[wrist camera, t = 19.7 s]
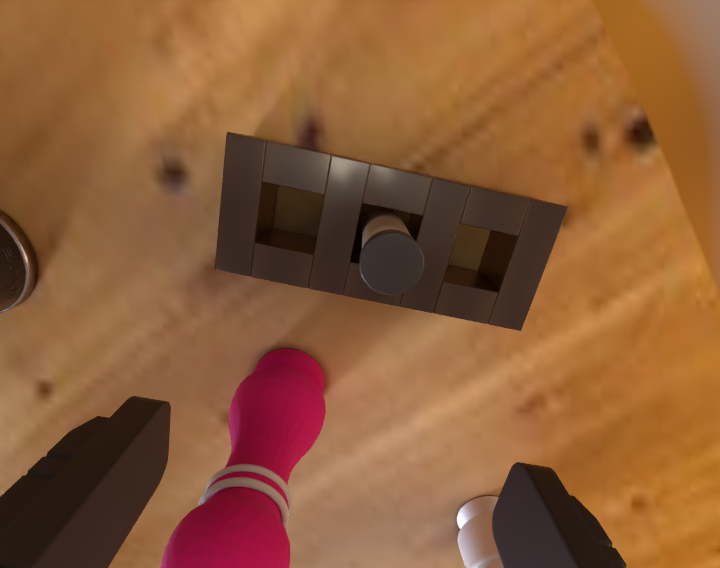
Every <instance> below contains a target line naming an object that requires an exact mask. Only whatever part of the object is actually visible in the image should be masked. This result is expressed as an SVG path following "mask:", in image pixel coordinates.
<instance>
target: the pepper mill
mask: <svg viewBox="0 0 720 568" xmlns="http://www.w3.org/2000/svg"><path fill="white" fill-rule="evenodd" d="M323 389H324V375H323V372H322V369H321V367H320V366H319V364H318V363H317V362H316V361H315V360H314V359H313V358H312V357H311V356H309V355H308V354H306V353H304V352H301V351H298V350H295V349H279V350H275V351H272V352H270V353H268V354H267V355H265V356H264V357H263V358H262V359H261V360H260V361H259V362H258V364H257V366H256V368H255V369H254V371H253V373H252V374H251V375H249V376H248V377H246V378H245V379H244V380H243V382H242V383H241V384H240V385H239V387H238V388H237V390H236V393H235V395H234V397H233V400H232V403H231V407H230V413H229V429H230V436H231V445H232V449H231V455H230V457H229V460H228V463H227V465H226V466H225V468H224V469H222V470H220V471H219V472H217V473H216V474H215V475H214V476H213V477H212V478H211V479H210V481H209V482H208V484H207V486H206V489H205V492H204V493H203V495H202V496H201V499H200V501H199V505H198V507H196V508H195V509H193V510H192V511H190V512H189V513H188V514H187V515H186V516H185V517H184V518H183V520H182V521H181V522H180V523H179V524H178V526H177V527H176V528H175V530H174V532H173V534H172V535H171V537H170V539H169V541H168V544H167V546H166V548H165V551H164V554H163V558H162V561H161V567H160V568H289V565H290V543H289V539H288V536H287V533H286V528H287V526H288V522H289V513H290V511H291V507H292V496H291V492H290V490H289V487H288V486H287V484H288V479H289V476H290V473H291V471H292V469H293V468H294V466H295V465H296V463H297V462H298V461H299V460H300V459H301V458H302V457H303V456H304V455H305V454H306V453H307V452H308V450H309V449H310V448H311V447H312V445H313V444H314V442H315V440H316V439H317V437H318V436H319V434H320V431H321V429H322V426H323V422H324V418H325V413H326V411H325V401H324V397H323Z"/></svg>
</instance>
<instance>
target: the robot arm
mask: <svg viewBox="0 0 720 568" xmlns="http://www.w3.org/2000/svg"><path fill="white" fill-rule="evenodd" d="M36 276H37V268H36V261H35V257H34V254H33V251H32V249H31V246H30V244H29V242H28V240H27V239H26V237H25V236H24V234H23V233H22V232H21V230H20V229H19V228H18V227H17V226H16V224H15V223H14V222H13V221H12V220H11V219H9V218H8V217H7V216H6V215H5V214H3V213H2V212H1V211H0V313H2V312H5V311H7V310H9V309H12V308H14V307H16V306H18V305H20V304H21V303H22V302H24V301H25V300H26V299H27V298H28V297H29V295H30V294H31V292H32V290H33V288H34V286H35V282H36ZM170 413H171V407H170V403H169V402H166V401H160V400H154V399H148V398H143V397H137V396H132V397H130V398H129V399H128V400H126V401H125V402H124V404H123V405H122V406H121V407H120V408H119V409H118V410H117V411H116V412H115V413H114V414H113V415H112V416H111V417H110V418H106V417H100V416H97V417H95V418H93V419H92V420H90V421H88V422H86V423H84V424H83V425H81V426H79V427H77V428H75V429H73V430H72V431H70V432H69V433H68V434H67V435H65V436H64V437H63V438H62V439H61V440H60V441H59V442H58V443H57V444H56V445H55V446H54V447H53V448H52V449H51V450H50V451H49V452H48V453H47V456H46V457H42V458H41V459H40V460H39V461H38V462H37V463H36V464H35V465H34V466H33V467H32V468H31V469H29V470H28V473H27V475H26V476H22V477H21V478H20V479H19V480H18V481H17V482H16V483H15V484H14V485H13V486H11V487H10V488H9V489H8V490H7V491H6V492H5V493H4V494H3V495H2V496H1V497H0V568H108V566H109V565H110V563H111V562H112V560H113V558H114V557H115V555H116V553H117V552H118V550H119V549H120V547H121V545H122V544H123V542H124V540H125V539H126V537H127V536H128V534H129V532H130V531H131V529H132V527H133V526H134V524H135V523H136V521H137V519H138V518H139V516H140V514H141V513H142V511H143V510H144V508H145V506H146V505H147V503H148V501H149V500H150V498H151V497H152V495H153V493H154V492H155V490H156V488H157V487H158V485H159V483H160V481H161V479H162V476H163V474H164V471H165V468H166V465H167V460H168V452H169V433H170ZM492 531H493V537H494V540H495V544H496V546H497V549H498V552H499V555H500V558H501V561H502V564H503V567H504V568H626V563H625V562H624V560H623V559H622V557H621V556H620V554H619V553H618V551H617V550H616V548H613V547H612V542H611V540H610V539H609V537H608V536H607V534H606V533H605V531H604V530H603V528H602V527H601V525H600V523H599V522H598V520H597V519H596V518H595V517H594V516H593V515H592V514H591V513H590V512H589V511H588V510H587V509H586V508H585V507H584V506H583V505H582V504H581V503H580V502H579V501H578V500H577V499H576V498H575V497H574V496H571V495H569V494H568V492H567V491H566V489H565V487H564V486H563V484H562V482H561V481H560V479H559V478H558V476H557V474H556V473H555V472H554V471H553V470H552V469H551V468H549V467H543V466H537V465H531V464H525V463H520V462H517V463H515V464H514V465H513V466H512V468H511V470H510V472H509V474H508V477H507V479H506V482H505V484H504V486H503V489H502V491H501V493H500V496H499V498H498V500H497V503H496V505H495V508H494V510H493V516H492Z"/></svg>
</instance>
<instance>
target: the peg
mask: <svg viewBox="0 0 720 568" xmlns="http://www.w3.org/2000/svg"><path fill="white" fill-rule="evenodd" d="M359 267H360V273H361V276H362V278H363V280H364V281H365V283H366V284H367V285H368V286H369V287H370V288H371V289H373V290H375V291H376V292H379V293H381V294H386V295H397V294H401V293H404V292H406V291H408V290H409V289H411V288H412V287H413V286H415V284H416V283H417V282H418V281H419V279H420V278H421V276H422V273H423V269H424V257H423V253H422V251H421V249H420V247H419V245H418V243H417V242H416V241H415V240H414V238H413V237H411V235H410V233H409V232H408V230H407V228H406V226H405V225H404V223H403V221H402V219H401V218H400V216H399V214H398V213H397V212H396V211H395V210H393V209H389V208H384V207H375V208H373V209H372V210H370V211H369V212H368V213H367V214H366V216H365V218H364V221H363V232H362V250H361V253H360V260H359Z"/></svg>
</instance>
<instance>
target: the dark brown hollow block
mask: <svg viewBox="0 0 720 568" xmlns="http://www.w3.org/2000/svg"><path fill="white" fill-rule="evenodd" d="M278 185H281V186H286V187H290V188H295V189H300V190H304V191H309V192H314V193H318V194H323V195H324V200H323V206H322V212H321V217H320V223H319V229H318V234H317V238H315V237H311V236H306V235H301V234H296V233H291V232H286V231H282V230H277V229H272V226H273V219H274V212H275V204H276V197H277V189H278ZM362 202H363V203H365V204H370V205H375V206H379V207H384V208H389V209H393V210H398V211H403V212H407V213H412V214H411V218H410V222H409V226H408V232H409V233H410V235H411V237H413V238H414V240H415V241H416V242H417V243H418V245H419V247H420V249H421V251H422V253H423V257H424V269H423V273H422V276H421V278H420V279H419V281H418V282H417V283H416V284H415V286H413V287H412V288H411V289H409V290H408V291H406V292H404V293H401V294H397V295H386V294H381V293H379V292H376V291H375V290H373V289H371V288H370V287H369V286H368V285H367V284H366V283H365V281H364V280H363V278H362V276H361V273H360V267H359V260H360V253H361V250H362V247H359V246H354V240H355V235H356V230H357V226H358V221H359V216H360V211H361V206H362ZM567 209H568V207H567V206H563V205H559V204H555V203H551V202H547V201H543V200H539V199H535V198H530V197H526V196H521V195H517V194H512V193H508V192H503V191H498V190H494V189H489V188H485V187H480V186H476V185H471V184H467V183H462V182H458V181H453V180H449V179H444V178H439V177H435V176H430V175H426V174H421V173H417V172H412V171H408V170H403V169H399V168H394V167H390V166H385V165H380V164H376V163H371V162H370V163H369V162H367V161H362V160H358V159H353V158H349V157H344V156H340V155H335V154H331V153H326V152H321V151H317V150H312V149H308V148H303V147H299V146H294V145H290V144H285V143H281V142H276V141H272V140H267V139H262V138H258V137H253V136H248V135H242V134H237V133H231V132H227V136H226V148H225V159H224V171H223V182H222V193H221V205H220V216H219V228H218V239H217V251H216V262H215V269H216V270H220V271H225V272H230V273H235V274H240V275H245V276H251V277H254V278H259V279H264V280H269V281H274V282H279V283H284V284H289V285H294V286H299V287H304V288H310V289H315V290H320V291H325V292H330V293H335V294H340V295H344V296H349V297H354V298H359V299H364V300H369V301H374V302H379V303H384V304H389V305H394V306H400V307H405V308H410V309H415V310H420V311H425V312H430V313H435V314H440V315H445V316H450V317H455V318H460V319H465V320H470V321H475V322H480V323H485V324H489V325H494V326H499V327H504V328H509V329H514V330H519V331H521V329H522V326H523V324H524V321H525V319H526V316H527V313H528V311H529V308H530V306H531V303H532V300H533V298H534V295H535V293H536V290H537V287H538V285H539V282H540V280H541V277H542V274H543V272H544V269H545V267H546V264H547V261H548V259H549V256H550V254H551V251H552V248H553V246H554V243H555V241H556V238H557V235H558V233H559V230H560V227H561V225H562V222H563V220H564V217H565V214H566V212H567ZM459 223H460V224H464V225H468V226H473V227H478V228H482V229H487V230H491V233H490V236H489V239H488V242H487V246H486V249H485V252H484V255H483V258H482V261H481V264H480V267H479V270H478V271H474V270H469V269H464V268H459V267H455V266H450V265H447V264H448V261H449V257H450V254H451V250H452V247H453V244H454V240H455V237H456V234H457V230H458V227H459Z"/></svg>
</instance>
